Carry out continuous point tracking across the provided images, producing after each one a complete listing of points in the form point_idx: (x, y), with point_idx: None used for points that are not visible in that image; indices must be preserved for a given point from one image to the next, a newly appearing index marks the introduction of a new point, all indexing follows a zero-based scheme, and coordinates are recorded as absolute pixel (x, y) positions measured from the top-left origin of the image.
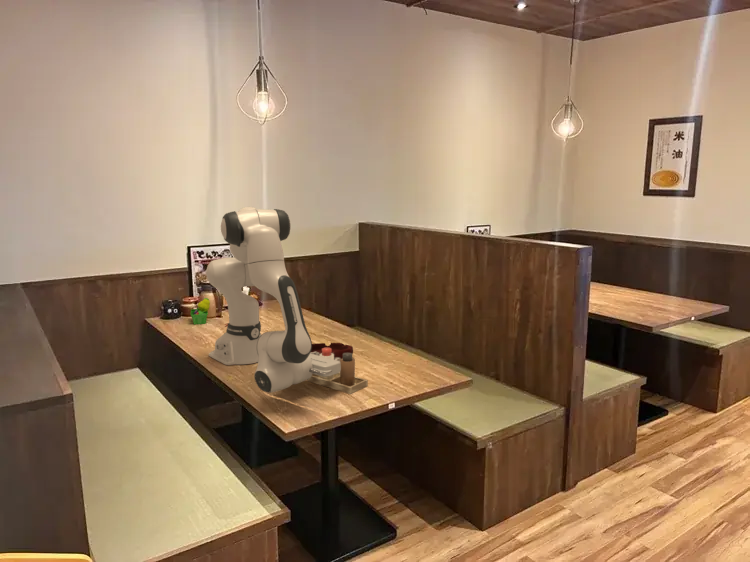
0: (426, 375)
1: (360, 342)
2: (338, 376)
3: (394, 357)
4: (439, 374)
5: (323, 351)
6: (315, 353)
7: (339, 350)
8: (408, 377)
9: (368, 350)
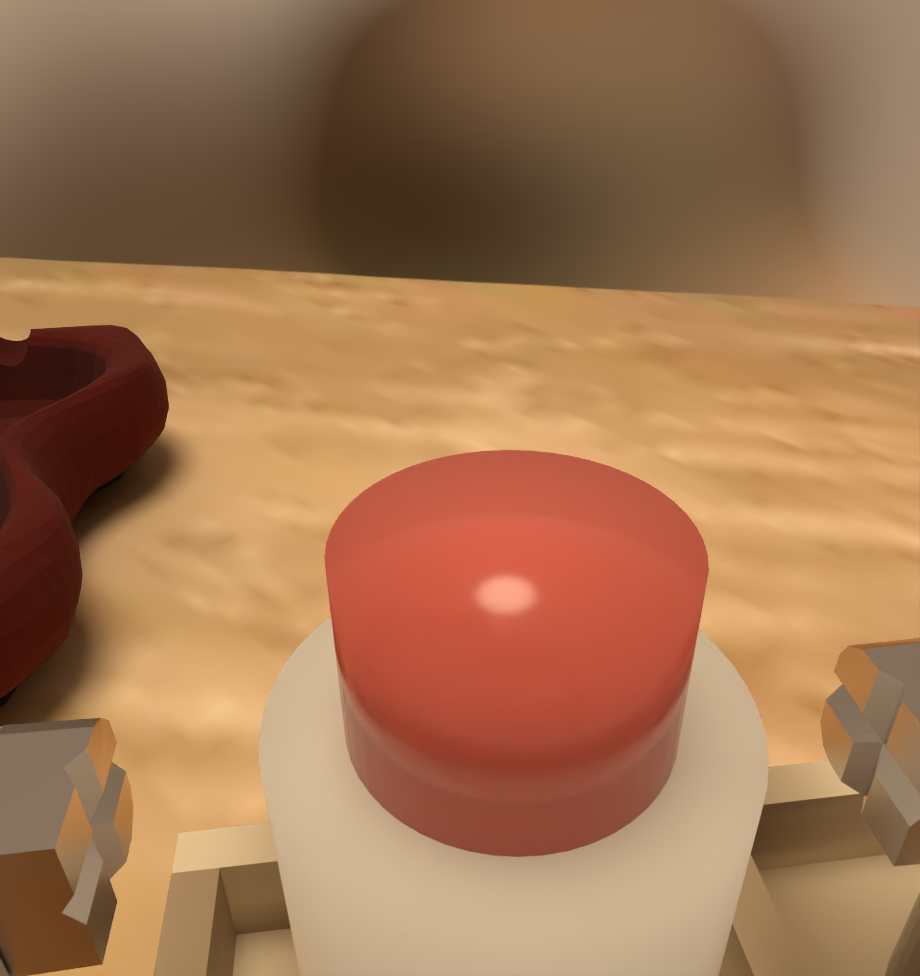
0: (895, 374)
1: (24, 300)
2: (764, 959)
3: (431, 325)
4: (913, 340)
5: (552, 725)
6: (30, 857)
7: (55, 410)
8: (880, 439)
9: (173, 334)
